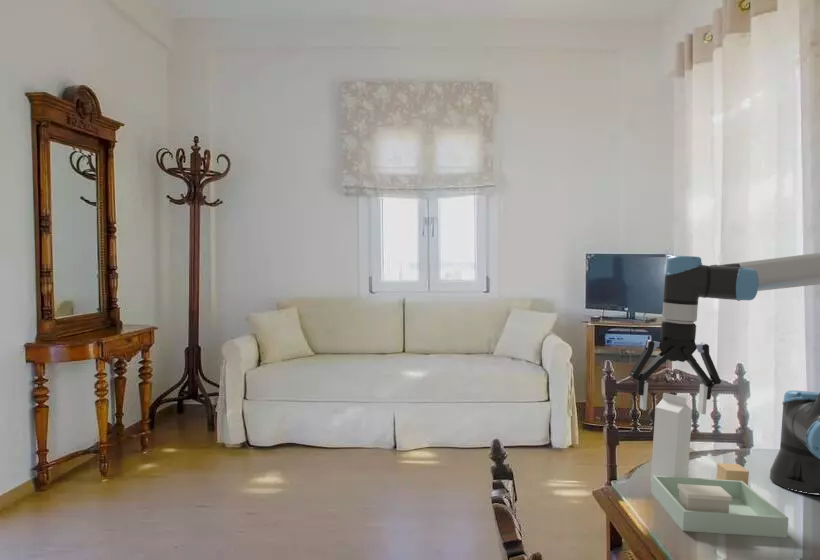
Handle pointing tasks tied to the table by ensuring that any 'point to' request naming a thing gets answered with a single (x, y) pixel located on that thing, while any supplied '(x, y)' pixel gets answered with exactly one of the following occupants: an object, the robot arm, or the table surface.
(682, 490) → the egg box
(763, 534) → the tray
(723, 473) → the box
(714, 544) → the table surface
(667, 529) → the table surface
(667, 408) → the milk
